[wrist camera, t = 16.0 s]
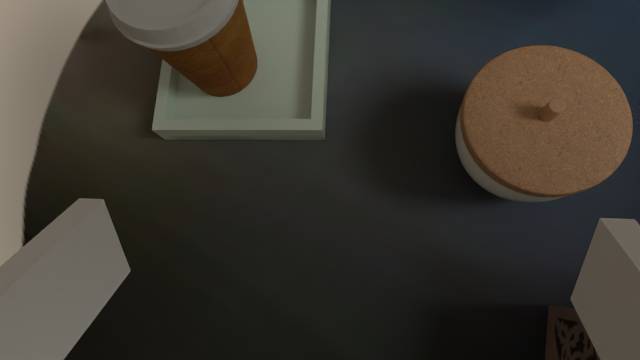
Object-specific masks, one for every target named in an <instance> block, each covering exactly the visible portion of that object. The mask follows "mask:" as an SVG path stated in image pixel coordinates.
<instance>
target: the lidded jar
mask: <svg viewBox="0 0 640 360" xmlns="http://www.w3.org/2000/svg"><path fill="white" fill-rule="evenodd" d="M632 130H633V121H632V115H631V109H630V106H629V103H628V101H627V98H626V96H625V94H624V92H623V90H622V88H621V87H620V85H619V84H618V83H617V82H616V80H615V79H614V78H613V77H612V76H611V75H610V74H609V73H608V72H607V71H606V70H605V69H604V68H603V67H602V66H600V65H599V64H598V63H596V62H595V61H593V60H592V59H590V58H588V57H586V56H584V55H582V54H580V53H577V52H575V51H572V50H569V49H565V48H561V47H556V46H545V45H539V46H527V47H521V48H517V49H513V50H510V51H507V52H505V53H503V54H501V55H499V56H497V57H495V58H494V59H492V60H491V61H489V62H488V63H487V64H485V65H484V66H483V67H482V68H481V69H480V70H479V71H478V73H477V74H476V75H475V77H474V78H473V79H472V81H471V82H470V84H469V86H468V88H467V90H466V92H465V95H464V98H463V101H462V104H461V107H460V110H459V113H458V116H457V121H456V128H455V141H456V148H457V153H458V156H459V158H460V161H461V163H462V165H463V167H464V168H465V170H466V172H467V173H468V174H469V175H470V177H471V178H472V179H473V180H474V181H475V182H476V183H477V184H479V185H480V186H481V187H482V188H484V189H485V190H487V191H488V192H490V193H492V194H494V195H496V196H498V197H501V198H504V199H507V200H511V201H518V202H543V201H550V200H555V199H559V198H562V197H565V196H569V195H573V194H576V193H579V192H583V191H585V190H587V189H589V188H591V187H593V186H595V185H597V184H599V183H601V182H602V181H604V180H605V179H606V178H608V177H609V176H610V175H611V174H612V173H613V172H614V171H615V170H616V169H617V168H618V167H619V166H620V164H621V163H622V161H623V159H624V158H625V156H626V154H627V152H628V149H629V147H630V143H631V138H632Z"/></svg>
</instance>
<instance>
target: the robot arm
mask: <svg viewBox="0 0 640 360" xmlns="http://www.w3.org/2000/svg"><path fill="white" fill-rule="evenodd" d="M130 271H131V270H130V268H129V265H128V263H127V260H126V257H125V255H124V252H123V249H122V247H121V244H120V242H119V239H118V236H117V234H116V231H115V228H114V226H113V223H112V220H111V218H110V215H109V213H108V210H107V207H106V205H105V202H104V199H84V198H79V199H78V200H77V201H76V202H75V203H73V204H72V205H71V206H70V207H69V208H68V209H66V210H65V211H64V212H63V213H62V214H61V215H60V216H58V217H57V218H56V219H55V220H54V221H53V222H51V223H50V224H49V225H48V226H47V227H46V228H45V229H43V230H42V231H41V232H40V233H39V234H38V235H36V236H35V237H34V238H33V239H32V240H31V241H30V242H28V243H27V244H26V245H25V246H24V247H23V248H21V249H20V250H19V251H18V252H17V253H16V254H15V255H13V256H12V257H11V258H10V259H9V260H8V261H7V262H5V263H4V264H3V265H2V266H1V267H0V360H64V358H65V357H66V356H67V354H68V353H69V352H70V351H71V349H72V348H73V347H74V345H75V344H76V343H77V341H78V340H79V339H80V337H81V336H82V335H83V333H84V332H85V331H86V329H87V328H88V327H89V325H90V324H91V323H92V321H93V320H94V319H95V317H96V316H97V315H98V313H99V312H100V311H101V310H102V308H103V307H104V306H105V304H106V303H107V302H108V300H109V299H110V298H111V296H112V295H113V294H114V292H115V291H116V290H117V288H118V287H119V286H120V284H121V283H122V282H123V280H124V279H125V278H126V276H127V275H128V274H129V272H130ZM570 300H571V302H572V304H573V306H574V308H575V310H576V312H577V314H578V316H579V318H580V320H581V322H582V324H583V326H584V328H585V330H586V332H587V334H588V336H589V338H590V340H591V342H592V344H593V346H594V348H595V350H596V352H597V354H598V356H599V358H600V360H640V225H639V224H638V222H637V221H636V220H635V219H616V218H600V219H599V222H598V224H597V227H596V230H595V233H594V235H593V238H592V241H591V244H590V246H589V249H588V252H587V255H586V257H585V260H584V263H583V266H582V268H581V271H580V274H579V277H578V279H577V282H576V285H575V288H574V290H573V293H572V296H571V299H570Z"/></svg>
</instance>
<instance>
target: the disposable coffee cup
mask: <svg viewBox="0 0 640 360" xmlns="http://www.w3.org/2000/svg"><path fill="white" fill-rule="evenodd" d="M105 1H106V3H107V5H108V11H109V14H110V17H111V19H112V21H113V23H114V25H115V26H116V28H117V29H118V30H119V31H120V32H121V33H122V34H123V35H124V36H125V37H126V38H128V39H129V40H131V41H133V42H134V43H136V44H138V45H141V46H144V47H147V48H149V49H150V50H151V51H153V52H154V53H155V54H156V55H158V56H159V57H160V58H162V59H163V60H164V61H165V62H167V63H168V64H169V65H170V66H172V67H173V68H174V69H176V70H177V71H178V72H179V73H181V74H182V75H183V76H185V77H186V78H187V79H188V80H189V81H191V82H192V83H193V84H195V85H196V86H197V87H199V88H200V89H201V90H202V91H203V92H205V93H207V94H209V95H212V96H217V97H224V96H231V95H234V94H236V93H238V92H240V91H241V90H243V89H244V88H246V87H247V86H248V85H249V84H250V82H251V81H252V80H253V78H254V76H255V74H256V71H257V66H258V63H257V55H256V51H255V47H254V43H253V39H252V35H251V31H250V27H249V23H248V19H247V15H246V11H245V7H244V3H243V0H105Z"/></svg>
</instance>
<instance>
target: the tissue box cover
mask: <svg viewBox="0 0 640 360" xmlns="http://www.w3.org/2000/svg"><path fill="white" fill-rule="evenodd" d="M545 360H600V358H599V356H598V354H597V352H596V350H595V348H594V346H593V344H592V342H591V340H590V338H589V336H588V334H587V332H586V330H585V328H584V326H583V324H582V322H581V320H580V318H579V316H578V314H577V312H576V310H575V308H569V307H560V306H551V305H549V307H548V321H547V336H546V350H545Z"/></svg>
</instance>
